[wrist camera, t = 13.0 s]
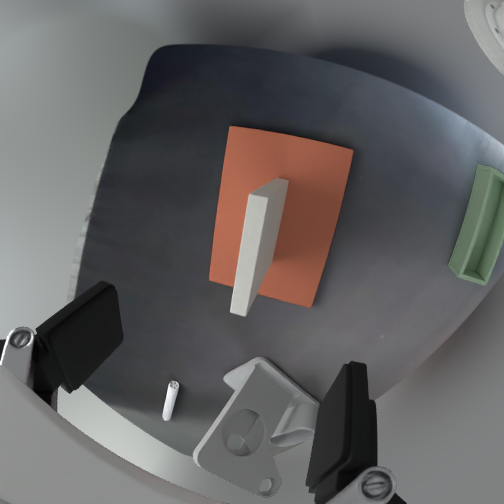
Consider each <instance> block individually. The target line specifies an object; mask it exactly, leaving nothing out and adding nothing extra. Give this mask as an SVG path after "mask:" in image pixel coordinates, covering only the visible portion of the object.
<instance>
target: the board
mask: <svg viewBox="0 0 504 504" xmlns="http://www.w3.org/2000/svg"><path fill="white" fill-rule="evenodd" d="M288 183H289V180H286V179H281V178H276V179H274V180H272V181H270V182H269V183H267V184H265V185H263V186H262V187H260V188H258V189H256V190H255V191H253V192H251V193H250V194H249V197H248V203H247V209H246V215H245V221H244V227H243V233H242V240H241V246H240V252H239V258H238V264H237V271H236V277H235V284H234V290H233V296H232V303H231V309H230V312H231V313H235V314H238V315H242V316H245V317H246V315H247V313H248V311H249V309H250V307H251V305H252V303H253V301H254V299H255V297H256V295H257V293H258V290H259V288H260V286H261V284H262V282H263V280H264V278H265V276H266V274H267V271H268V269H269V267H270V265H271V263H272V260H273V256H274V251H275V246H276V242H277V237H278V232H279V227H280V222H281V218H282V213H283V208H284V203H285V198H286V193H287V188H288Z"/></svg>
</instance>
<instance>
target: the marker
mask: <svg viewBox="0 0 504 504" xmlns="http://www.w3.org/2000/svg"><path fill="white" fill-rule="evenodd" d="M178 389H179V384H178V382H176V381H171V382H170V383H169V386H168V391H167V395H166V400H165V405H164V410H163V415H162V417H163V419H164V420H165V421H167V420H170V418H171V415H172V411H173V407H174V403H175V400H176V396H177V392H178Z"/></svg>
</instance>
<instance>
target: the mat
mask: <svg viewBox="0 0 504 504" xmlns="http://www.w3.org/2000/svg"><path fill="white" fill-rule="evenodd" d="M353 152H354V150H352V149H348V148H345V147H341V146H337V145H333V144H329V143H325V142H320V141H316V140H311V139H307V138H302V137H297V136H292V135H287V134H282V133H276V132H270V131H264V130H258V129H251V128H244V127H237V126H230V128H229V134H228V140H227V147H226V153H225V159H224V166H223V173H222V180H221V187H220V194H219V201H218V208H217V216H216V224H215V232H214V240H213V249H212V257H211V266H210V276H209V280H210V281H214V282H217V283H221V284H224V285H228V286H231V287H234V284H235V277H236V271H237V264H238V258H239V252H240V246H241V240H242V233H243V227H244V221H245V215H246V209H247V203H248V197H249V194H250V193H251V192H253V191H255V190H256V189H258V188H260V187H262V186H263V185H265V184H267V183H269V182H270V181H272V180H274V179H276V178H281V179H286V180H289V183H288V188H287V193H286V198H285V203H284V208H283V213H282V218H281V222H280V227H279V232H278V237H277V242H276V246H275V251H274V256H273V260H272V263H271V265H270V267H269V269H268V271H267V274H266V276H265V278H264V280H263V282H262V284H261V286H260V288H259V290H258V293H257V294H260V295H263V296H267V297H271V298H274V299H278V300H282V301H286V302H289V303H293V304H297V305H301V306H305V307H309V308H311V307H312V304H313V301H314V298H315V295H316V292H317V289H318V286H319V282H320V279H321V276H322V273H323V269H324V266H325V263H326V259H327V256H328V253H329V249H330V246H331V242H332V238H333V235H334V231H335V227H336V224H337V220H338V216H339V212H340V208H341V204H342V200H343V196H344V192H345V188H346V184H347V179H348V175H349V170H350V166H351V161H352V156H353Z"/></svg>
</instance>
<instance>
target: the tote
mask: <svg viewBox="0 0 504 504" xmlns="http://www.w3.org/2000/svg"><path fill="white" fill-rule="evenodd" d="M503 241H504V174H503V173H501V172H500V171H498V170H496V169H495V168H493V167H490V166H485V165H479V164H477V169H476V174H475V179H474V183H473V187H472V192H471V196H470V200H469V203H468V207H467V210H466V214H465V217H464V221H463V224H462V227H461V230H460V233H459V236H458V239H457V242H456V245H455V248H454V250H453V253H452V256H451V258H450V261H449V263H448V267H449V268H450V269H451V270H452V271H453V272H454V273H455V275H456V276H457V277H459V278H462V279H465V280H468V281H471V282H474V283H478V284H481V285H484V286H486V284H487V282H488V280H489V278H490V275H491V273H492V271H493V268H494V266H495V263H496V261H497V258H498V255H499V253H500V250H501V247H502V244H503Z"/></svg>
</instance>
